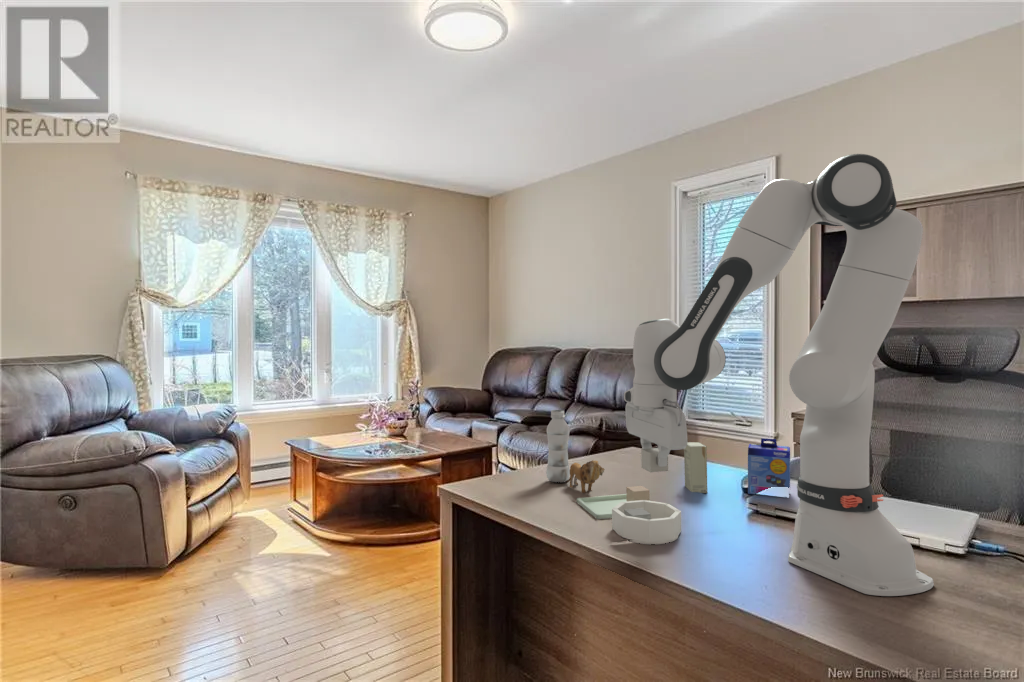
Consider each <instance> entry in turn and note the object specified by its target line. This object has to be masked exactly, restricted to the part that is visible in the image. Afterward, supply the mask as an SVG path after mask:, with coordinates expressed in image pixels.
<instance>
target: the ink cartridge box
mask: <svg viewBox="0 0 1024 682" xmlns="http://www.w3.org/2000/svg"><path fill="white" fill-rule="evenodd" d="M769 442H770V443H769ZM771 487H788V488H789V487H790V488H791V447H790V446H786V445H785V446H784V445H778V443H777V439H776V438H763V437H762V438H761V439H760V443H749V444H748V448H747V494H748V495H755V493H758V492H760V491H762V490H765V489H768V488H771Z"/></svg>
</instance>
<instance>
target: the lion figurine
mask: <svg viewBox="0 0 1024 682" xmlns="http://www.w3.org/2000/svg"><path fill="white" fill-rule="evenodd" d="M569 469H570V476H569V479H568V480H567V481H565V482H564V483H566V484H568V483H569V488H574V486H578V485H579V483H578V481H579V482H580V487H581V494H582V493H583V494H585V493H587V492H593V489H592V486H593V485H594V484H595V482H596V481H597V480H598V479H599V478H600V476H601V477H602V476H603V473H605V468H604V467H602V466H601V465H600V463H599V461H598V460H594V459H593V460H591V461H590V460H589V461H587V462H585V463H583V464H582V465H581V464H580V463H579V462H573V463H572V464H571V465H570V466H569ZM586 484H587V491H586ZM573 485H574V486H573Z"/></svg>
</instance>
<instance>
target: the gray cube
mask: <svg viewBox="0 0 1024 682" xmlns="http://www.w3.org/2000/svg"><path fill="white" fill-rule="evenodd" d="M624 514H625V515H626V516H631V517H637V518H643V519H651V514H650V513H648V512H647V511H645V510H644V509H642V508H638V509H627V510H624Z"/></svg>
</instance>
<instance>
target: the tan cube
mask: <svg viewBox="0 0 1024 682" xmlns="http://www.w3.org/2000/svg"><path fill="white" fill-rule="evenodd" d="M625 494H627V501H637V500H647V501H651V499H650V489H648V488H646V487H645V486H643V485H635V486H627V487H626V493H625Z"/></svg>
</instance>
